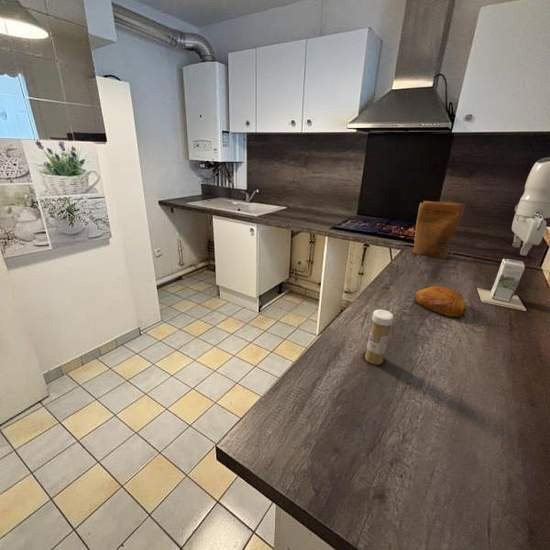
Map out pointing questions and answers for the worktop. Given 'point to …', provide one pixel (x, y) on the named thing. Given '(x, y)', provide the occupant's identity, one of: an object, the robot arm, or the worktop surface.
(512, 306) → the napkin
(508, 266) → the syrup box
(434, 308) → the bread loaf
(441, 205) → the pancake mix bag
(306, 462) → the worktop surface
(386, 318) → the sprinkles bottle
